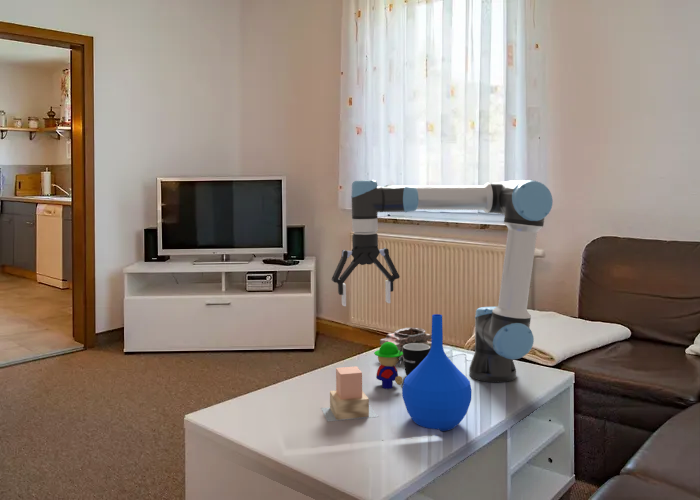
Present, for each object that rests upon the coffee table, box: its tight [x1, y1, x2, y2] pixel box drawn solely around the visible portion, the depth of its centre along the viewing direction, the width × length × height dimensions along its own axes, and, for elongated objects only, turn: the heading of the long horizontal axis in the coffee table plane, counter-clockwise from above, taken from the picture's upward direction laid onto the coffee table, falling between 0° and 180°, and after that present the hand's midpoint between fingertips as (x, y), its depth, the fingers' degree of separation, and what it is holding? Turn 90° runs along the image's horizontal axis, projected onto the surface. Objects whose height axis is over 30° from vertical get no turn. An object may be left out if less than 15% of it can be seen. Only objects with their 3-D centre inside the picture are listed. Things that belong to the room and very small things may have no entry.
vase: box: [401, 313, 473, 432], centre depth 172 cm, size 18×18×30 cm
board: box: [320, 403, 379, 422], centre depth 180 cm, size 14×10×1 cm
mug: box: [402, 343, 430, 377], centre depth 213 cm, size 12×9×10 cm
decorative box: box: [379, 327, 432, 360], centre depth 235 cm, size 13×20×10 cm, turn 121°
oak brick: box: [329, 389, 370, 421], centre depth 179 cm, size 9×9×5 cm
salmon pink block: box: [335, 365, 363, 399], centre depth 179 cm, size 6×6×7 cm
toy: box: [373, 342, 404, 390], centre depth 201 cm, size 11×9×15 cm
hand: (366, 304), depth 193 cm, fingers open, 13 cm apart
